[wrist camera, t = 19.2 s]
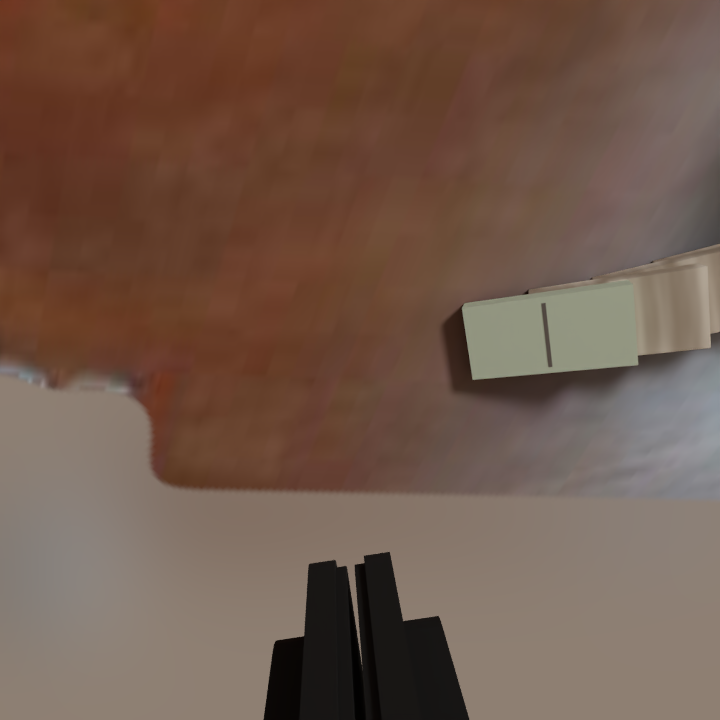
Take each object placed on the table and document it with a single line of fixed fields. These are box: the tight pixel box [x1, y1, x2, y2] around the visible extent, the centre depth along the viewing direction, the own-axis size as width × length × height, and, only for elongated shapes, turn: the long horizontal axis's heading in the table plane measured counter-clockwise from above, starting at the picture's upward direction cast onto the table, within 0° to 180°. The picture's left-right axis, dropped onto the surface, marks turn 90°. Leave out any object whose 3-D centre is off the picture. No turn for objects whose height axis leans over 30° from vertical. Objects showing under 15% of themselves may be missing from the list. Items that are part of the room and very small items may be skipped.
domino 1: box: [462, 280, 638, 380], centre depth 33 cm, size 2×5×10 cm
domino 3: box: [592, 247, 720, 334], centre depth 32 cm, size 2×5×10 cm
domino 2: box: [529, 263, 711, 355], centre depth 33 cm, size 2×5×10 cm
